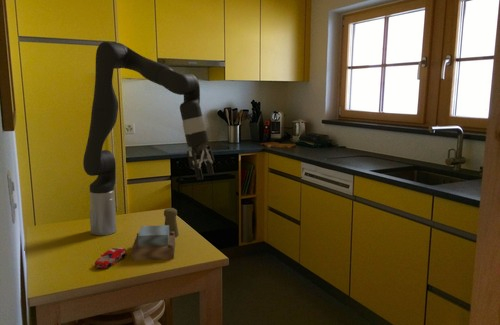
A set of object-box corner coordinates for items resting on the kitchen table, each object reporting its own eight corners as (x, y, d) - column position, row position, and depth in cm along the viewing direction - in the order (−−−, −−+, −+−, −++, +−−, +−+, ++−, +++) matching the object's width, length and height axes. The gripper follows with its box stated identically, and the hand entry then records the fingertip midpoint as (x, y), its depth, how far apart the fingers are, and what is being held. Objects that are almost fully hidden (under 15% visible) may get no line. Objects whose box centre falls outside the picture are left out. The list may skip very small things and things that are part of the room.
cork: (181, 233, 168) (180, 207, 166) (174, 238, 162) (173, 211, 160) (168, 231, 170) (167, 205, 168) (160, 236, 164) (159, 210, 162)
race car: (105, 272, 134) (104, 260, 133) (91, 269, 136) (90, 257, 135) (129, 256, 146) (129, 245, 145) (116, 254, 148) (116, 243, 147)
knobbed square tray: (132, 260, 142) (131, 238, 140) (137, 245, 156) (136, 224, 154) (173, 258, 144) (173, 236, 142) (175, 243, 157) (174, 223, 156)
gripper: (195, 131, 151) (205, 174, 152) (175, 135, 138) (186, 183, 139) (213, 127, 148) (223, 171, 150) (195, 131, 135) (206, 179, 137)
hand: (205, 177), depth 144 cm, fingers open, 8 cm apart
